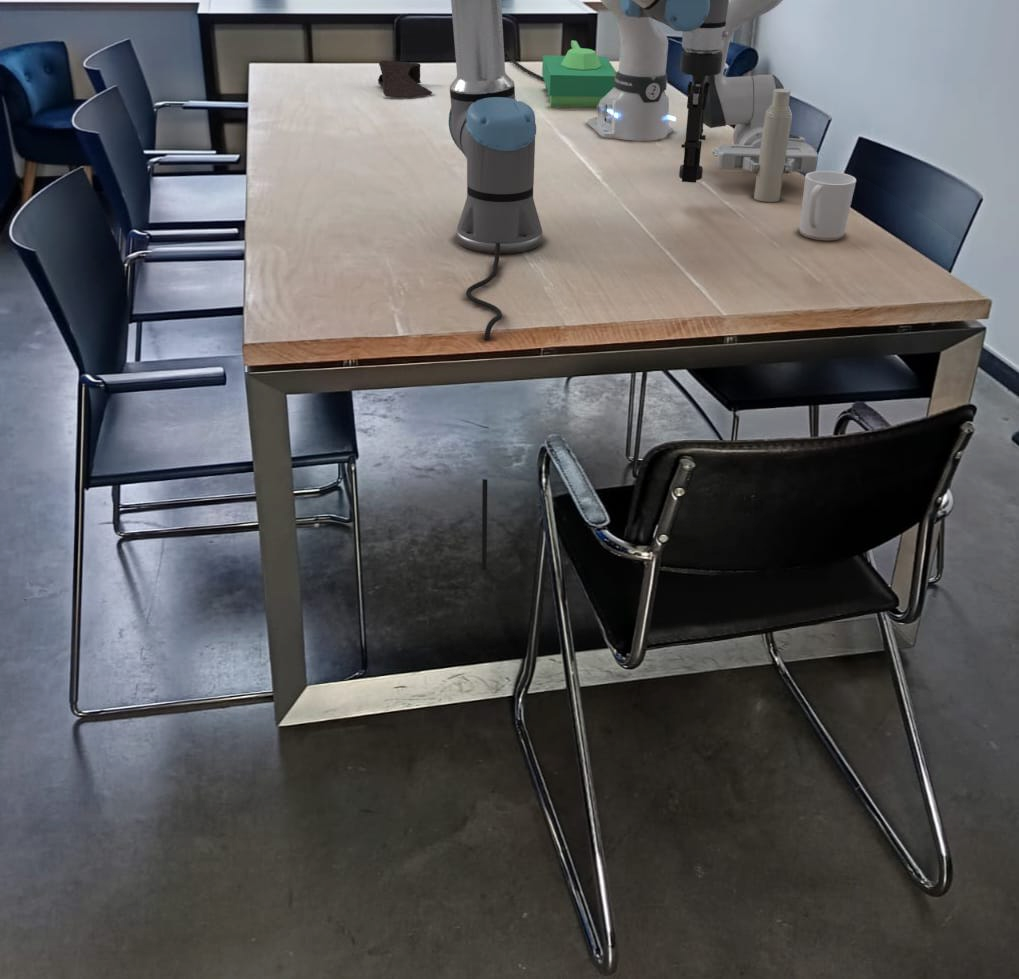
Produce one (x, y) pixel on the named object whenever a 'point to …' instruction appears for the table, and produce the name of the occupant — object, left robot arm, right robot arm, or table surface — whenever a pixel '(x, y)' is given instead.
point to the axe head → (401, 79)
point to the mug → (826, 204)
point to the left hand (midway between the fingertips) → (690, 177)
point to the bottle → (773, 148)
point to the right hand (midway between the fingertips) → (772, 169)
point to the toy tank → (577, 77)
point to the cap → (699, 172)
